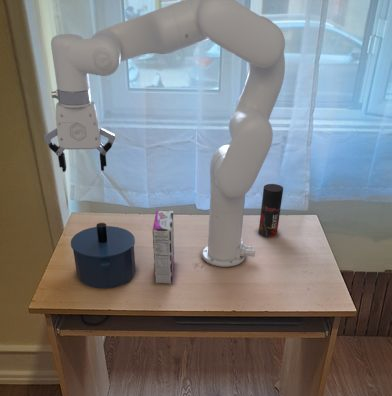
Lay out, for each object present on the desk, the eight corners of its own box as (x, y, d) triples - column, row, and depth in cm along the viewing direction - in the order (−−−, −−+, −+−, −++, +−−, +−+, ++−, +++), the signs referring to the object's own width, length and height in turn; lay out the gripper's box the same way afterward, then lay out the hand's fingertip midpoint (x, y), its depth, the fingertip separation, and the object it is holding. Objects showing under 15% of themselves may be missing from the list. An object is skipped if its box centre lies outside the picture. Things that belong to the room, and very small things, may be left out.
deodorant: (266, 227, 163) (271, 182, 154) (280, 233, 160) (287, 188, 150) (254, 232, 160) (259, 187, 150) (269, 239, 157) (275, 193, 147)
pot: (132, 252, 149) (130, 222, 142) (138, 291, 133) (136, 260, 126) (77, 255, 146) (73, 225, 140) (77, 296, 130) (72, 264, 124)
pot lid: (132, 227, 141) (131, 209, 138) (137, 257, 128) (136, 238, 125) (71, 231, 139) (68, 212, 135) (70, 262, 126) (67, 242, 122)
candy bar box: (157, 263, 144) (155, 209, 133) (174, 263, 144) (174, 210, 133) (154, 284, 135) (151, 228, 125) (172, 284, 135) (171, 229, 125)
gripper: (35, 101, 113) (47, 175, 124) (112, 100, 115) (117, 174, 126) (38, 93, 119) (50, 165, 130) (112, 92, 120) (117, 163, 132)
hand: (83, 169), depth 128 cm, fingers open, 9 cm apart
